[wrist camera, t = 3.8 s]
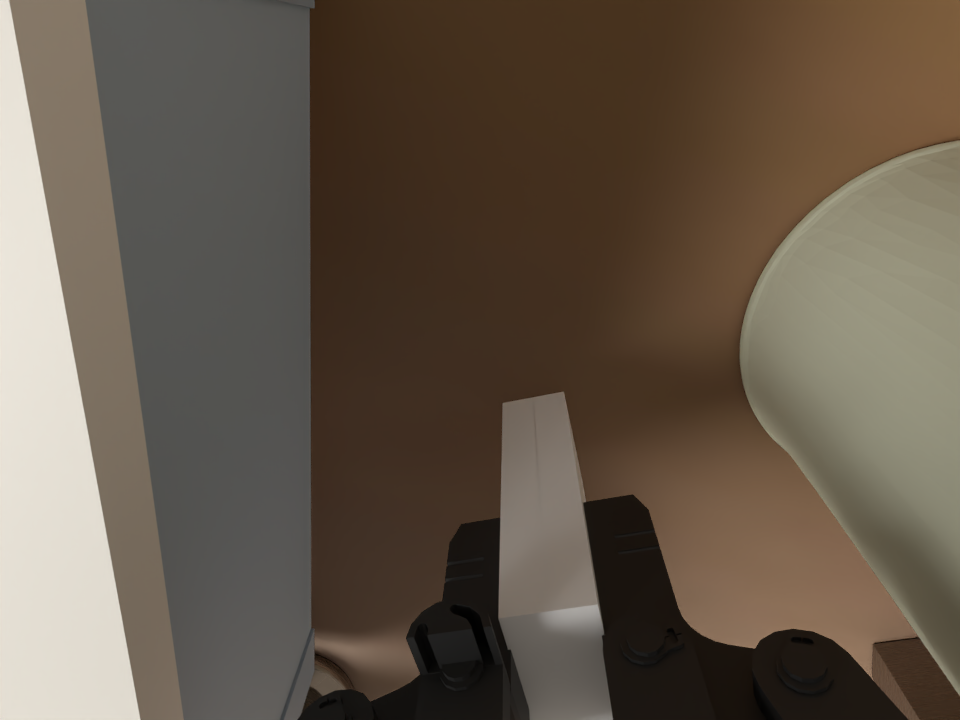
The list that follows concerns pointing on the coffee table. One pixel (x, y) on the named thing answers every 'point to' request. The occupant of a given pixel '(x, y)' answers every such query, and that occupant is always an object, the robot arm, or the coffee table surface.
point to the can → (874, 375)
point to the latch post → (914, 681)
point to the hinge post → (325, 680)
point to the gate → (155, 360)
